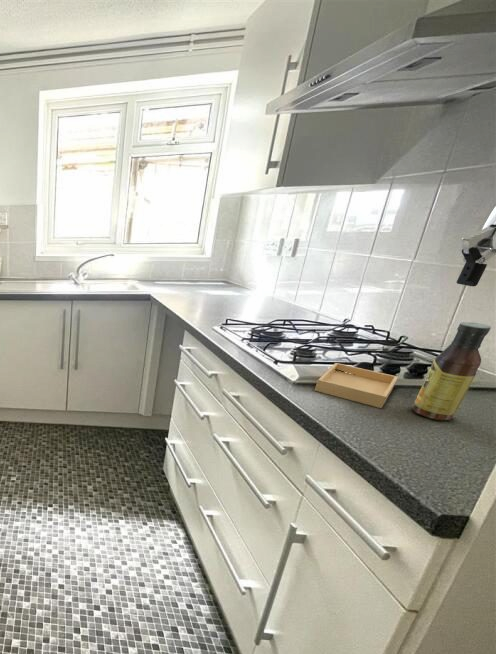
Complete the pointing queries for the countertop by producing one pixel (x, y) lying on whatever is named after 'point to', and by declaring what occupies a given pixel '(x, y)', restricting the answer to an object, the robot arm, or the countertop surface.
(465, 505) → the countertop surface
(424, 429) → the countertop surface
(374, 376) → the serving tray
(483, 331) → the sauce bottle
